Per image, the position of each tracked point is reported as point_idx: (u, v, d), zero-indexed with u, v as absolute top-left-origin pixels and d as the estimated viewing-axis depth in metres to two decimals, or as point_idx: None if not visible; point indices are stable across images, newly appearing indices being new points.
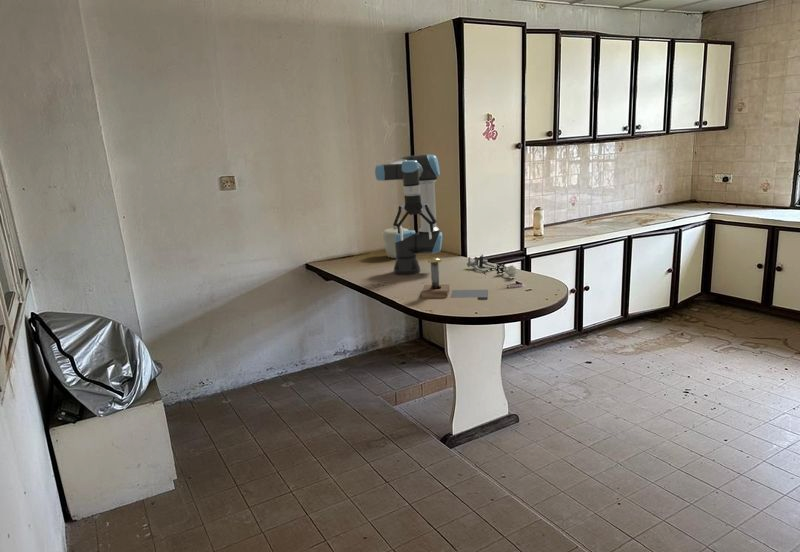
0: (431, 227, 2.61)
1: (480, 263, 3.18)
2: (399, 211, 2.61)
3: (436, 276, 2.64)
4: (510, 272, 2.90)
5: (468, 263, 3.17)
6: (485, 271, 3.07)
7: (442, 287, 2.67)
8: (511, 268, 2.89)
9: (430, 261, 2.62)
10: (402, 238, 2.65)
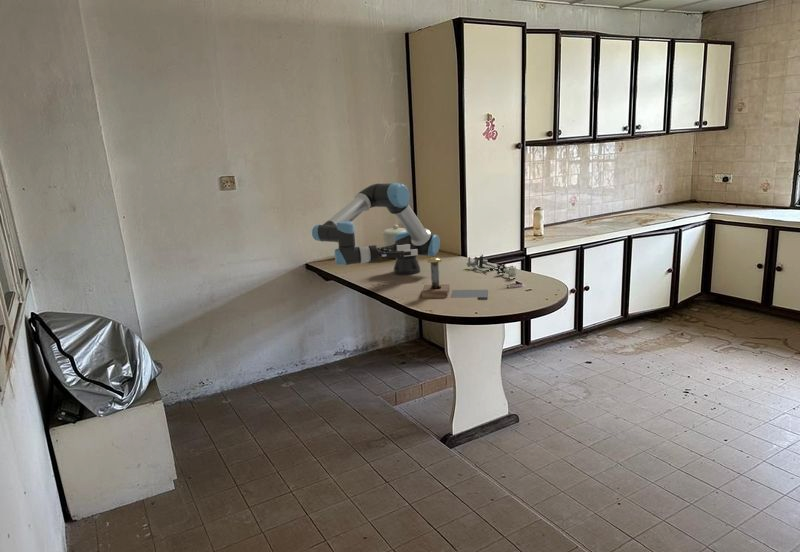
0: (406, 255, 2.52)
1: (480, 263, 3.18)
2: None
3: (436, 276, 2.64)
4: (510, 272, 2.89)
5: (468, 263, 3.17)
6: (485, 271, 3.07)
7: (442, 287, 2.67)
8: (511, 268, 2.89)
9: (430, 261, 2.62)
10: (408, 248, 2.67)
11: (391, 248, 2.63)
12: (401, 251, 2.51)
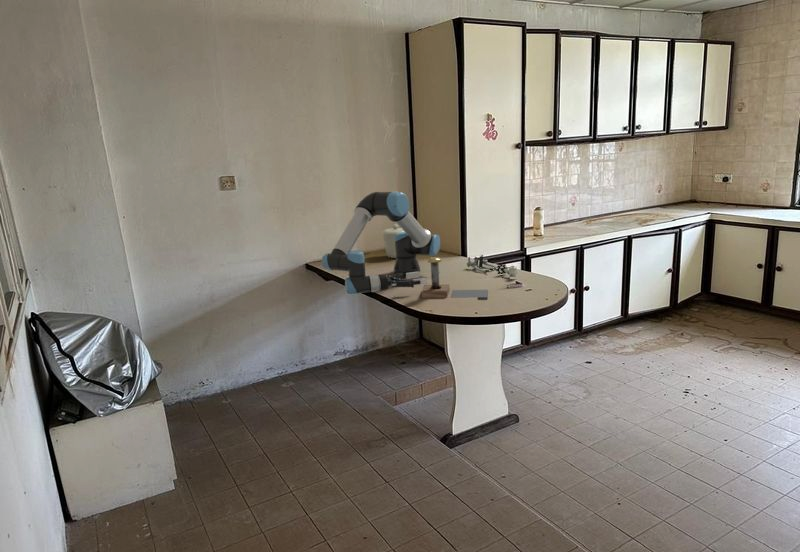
0: None
1: (480, 263, 3.18)
2: None
3: (436, 276, 2.64)
4: (511, 272, 2.89)
5: (468, 263, 3.17)
6: (485, 271, 3.06)
7: (442, 287, 2.67)
8: (512, 268, 2.89)
9: (430, 261, 2.62)
10: (417, 275, 2.70)
11: (400, 276, 2.67)
12: (411, 280, 2.55)
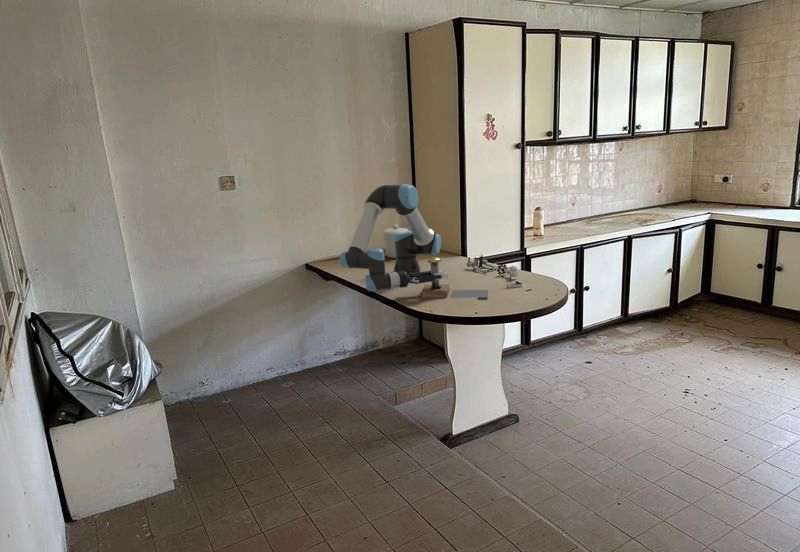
0: None
1: (480, 263, 3.17)
2: None
3: None
4: (512, 272, 2.89)
5: (468, 263, 3.16)
6: (485, 271, 3.06)
7: (442, 287, 2.67)
8: (513, 268, 2.88)
9: (430, 261, 2.62)
10: None
11: (423, 274, 2.66)
12: (432, 275, 2.62)
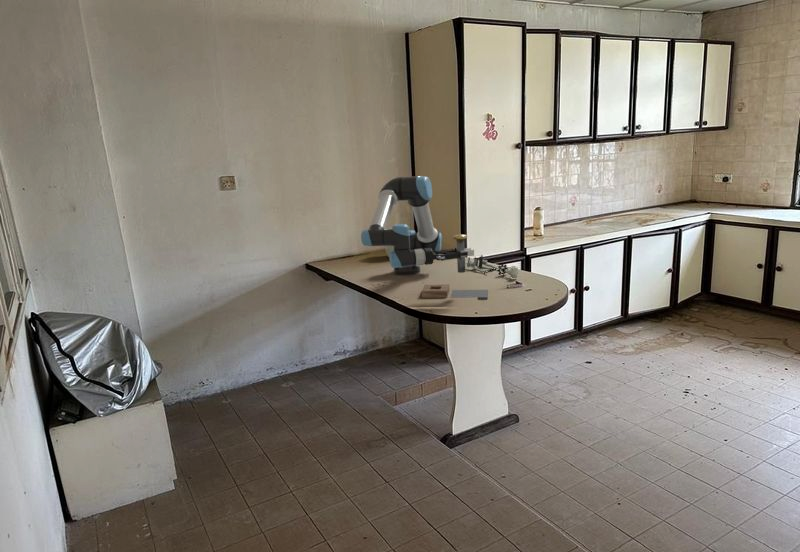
0: (463, 255, 2.56)
1: (480, 263, 3.17)
2: None
3: None
4: (512, 273, 2.88)
5: (468, 263, 3.16)
6: (485, 271, 3.06)
7: (442, 287, 2.67)
8: (513, 269, 2.88)
9: (456, 238, 2.55)
10: None
11: (449, 252, 2.60)
12: (458, 252, 2.56)
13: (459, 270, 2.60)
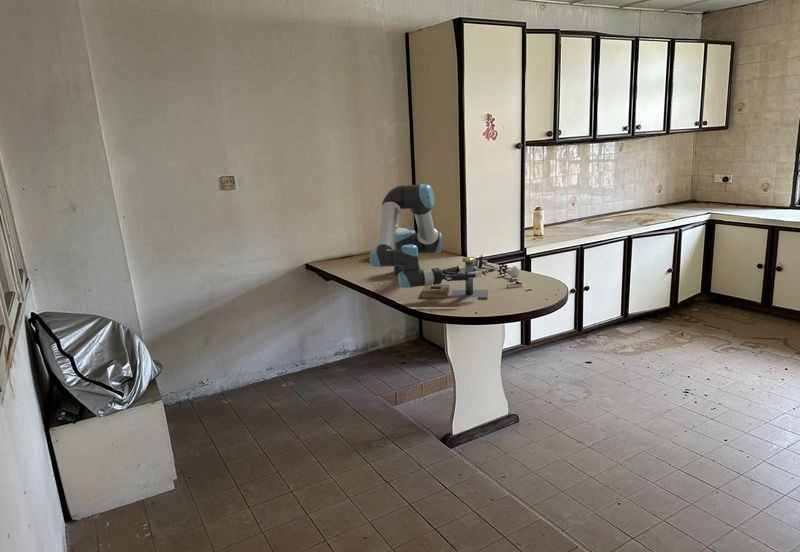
0: None
1: (480, 264, 3.17)
2: None
3: None
4: (513, 273, 2.87)
5: None
6: (484, 272, 3.05)
7: (442, 287, 2.67)
8: (514, 269, 2.87)
9: (465, 260, 2.58)
10: None
11: (454, 270, 2.64)
12: None
13: (467, 292, 2.63)
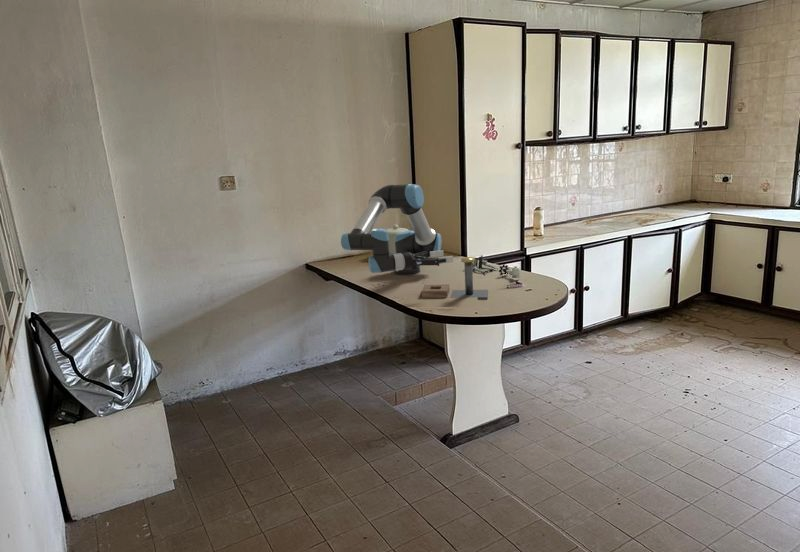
0: None
1: (479, 264, 3.16)
2: None
3: (470, 276, 2.60)
4: (514, 273, 2.87)
5: None
6: (484, 272, 3.05)
7: (442, 287, 2.67)
8: (515, 269, 2.86)
9: (464, 261, 2.58)
10: (441, 254, 2.63)
11: (424, 254, 2.60)
12: (436, 258, 2.48)
13: (467, 292, 2.63)
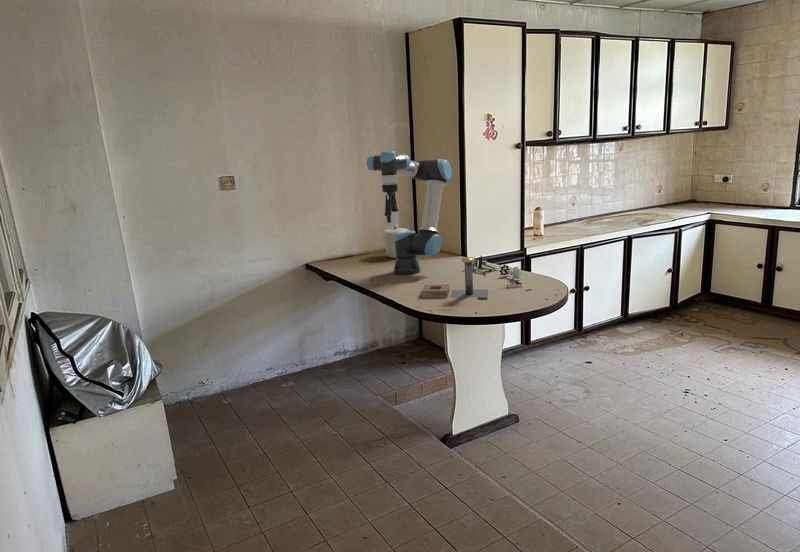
0: (387, 218, 2.70)
1: (479, 264, 3.16)
2: None
3: (470, 276, 2.60)
4: (515, 273, 2.86)
5: None
6: (484, 272, 3.04)
7: (442, 287, 2.67)
8: (516, 269, 2.86)
9: (464, 261, 2.58)
10: (393, 222, 2.85)
11: (394, 206, 2.81)
12: (391, 213, 2.70)
13: (467, 292, 2.63)
